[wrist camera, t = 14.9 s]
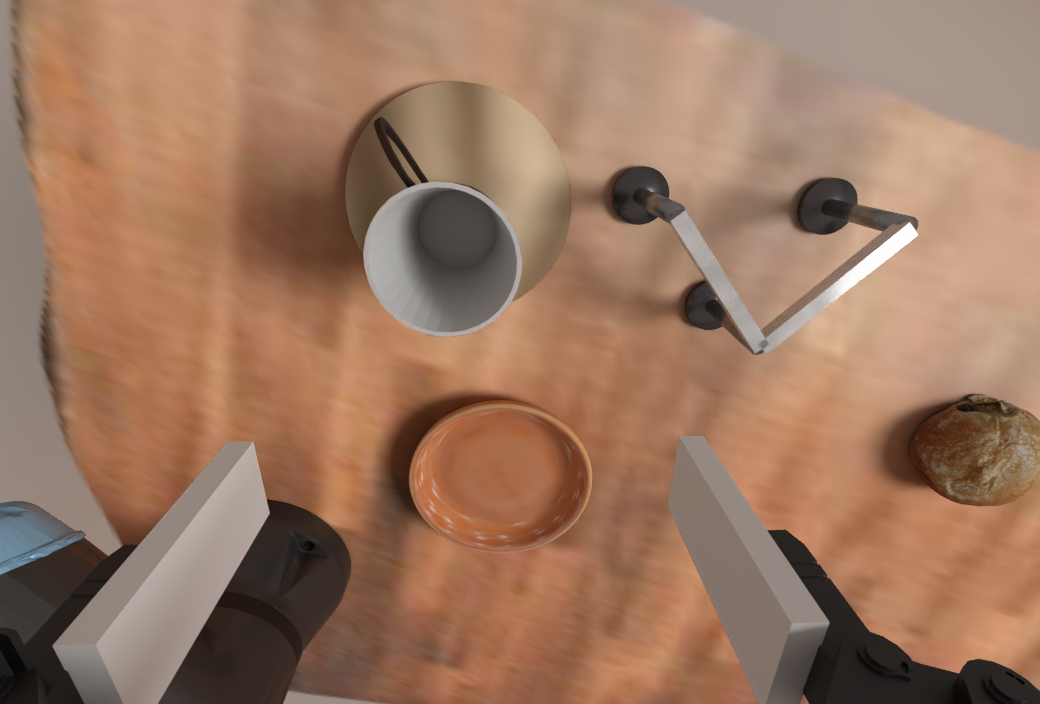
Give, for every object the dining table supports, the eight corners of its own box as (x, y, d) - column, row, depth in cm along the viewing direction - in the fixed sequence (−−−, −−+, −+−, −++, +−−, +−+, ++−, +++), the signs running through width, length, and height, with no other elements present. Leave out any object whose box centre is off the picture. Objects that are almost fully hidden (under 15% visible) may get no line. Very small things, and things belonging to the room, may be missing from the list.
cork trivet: (356, 305, 40) (353, 309, 39) (339, 74, 33) (335, 73, 33) (559, 314, 41) (560, 318, 40) (580, 90, 34) (582, 90, 33)
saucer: (377, 455, 46) (369, 476, 43) (513, 353, 42) (514, 369, 40) (491, 556, 51) (490, 580, 49) (621, 473, 48) (628, 494, 45)
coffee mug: (516, 286, 39) (521, 336, 30) (403, 286, 39) (372, 337, 29) (518, 119, 34) (523, 117, 25) (388, 117, 34) (346, 115, 25)
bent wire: (595, 322, 41) (618, 371, 33) (615, 164, 36) (648, 176, 28) (811, 331, 42) (886, 382, 34) (859, 179, 37) (960, 195, 29)
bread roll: (982, 376, 48) (1058, 382, 41) (1026, 477, 48) (1111, 503, 40) (876, 412, 50) (930, 425, 42) (918, 511, 49) (981, 543, 41)
